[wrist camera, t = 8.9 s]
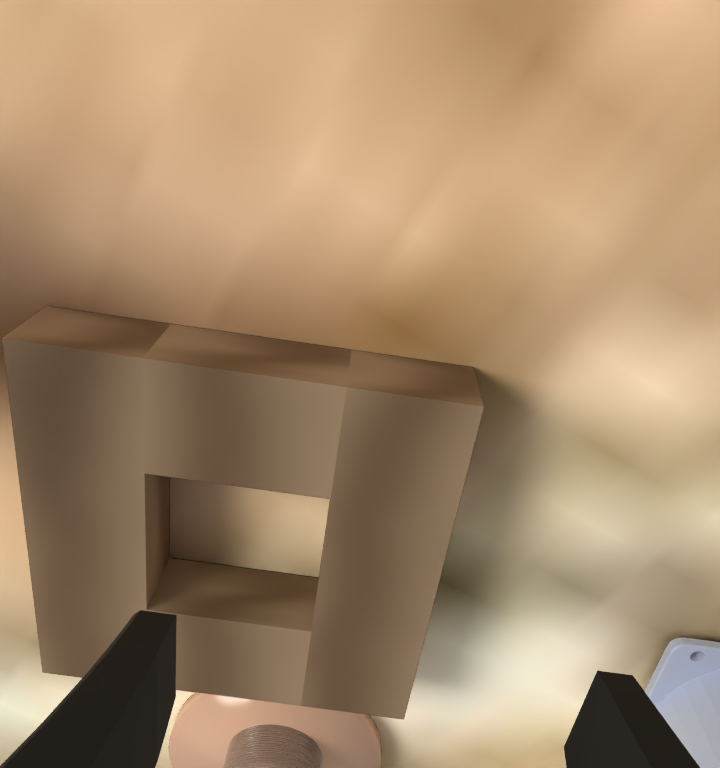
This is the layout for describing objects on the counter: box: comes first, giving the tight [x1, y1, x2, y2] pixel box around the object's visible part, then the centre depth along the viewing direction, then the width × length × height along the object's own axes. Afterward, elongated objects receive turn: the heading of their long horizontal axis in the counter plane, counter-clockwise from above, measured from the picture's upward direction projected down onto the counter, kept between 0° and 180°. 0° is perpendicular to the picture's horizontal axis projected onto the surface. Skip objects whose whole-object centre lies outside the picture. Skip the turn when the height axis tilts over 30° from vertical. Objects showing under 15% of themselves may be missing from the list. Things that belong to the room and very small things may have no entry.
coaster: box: [169, 692, 381, 768], centre depth 28 cm, size 9×9×1 cm
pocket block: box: [2, 306, 484, 719], centre depth 22 cm, size 13×13×2 cm
